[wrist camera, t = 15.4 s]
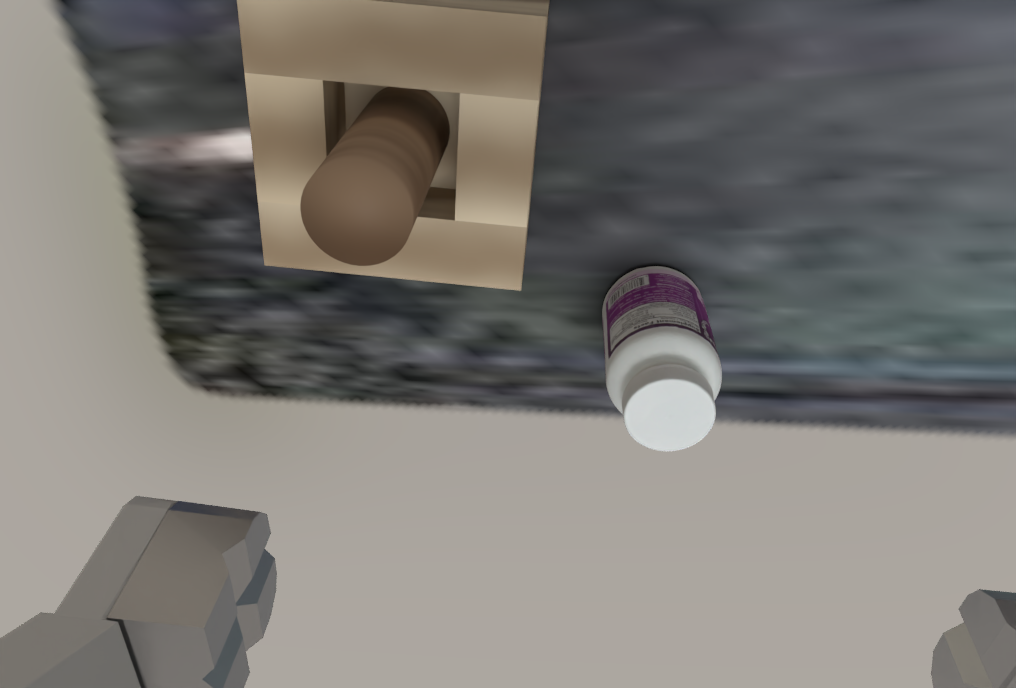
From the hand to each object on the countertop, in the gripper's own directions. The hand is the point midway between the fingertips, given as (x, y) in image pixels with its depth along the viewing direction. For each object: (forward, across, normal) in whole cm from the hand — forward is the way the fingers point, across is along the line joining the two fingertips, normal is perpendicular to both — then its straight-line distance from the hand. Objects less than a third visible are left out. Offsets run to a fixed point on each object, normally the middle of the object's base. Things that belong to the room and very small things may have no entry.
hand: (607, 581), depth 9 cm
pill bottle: (+31, -5, +15) cm, 35 cm away
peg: (+29, +8, +6) cm, 31 cm away
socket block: (+31, +8, +6) cm, 32 cm away
